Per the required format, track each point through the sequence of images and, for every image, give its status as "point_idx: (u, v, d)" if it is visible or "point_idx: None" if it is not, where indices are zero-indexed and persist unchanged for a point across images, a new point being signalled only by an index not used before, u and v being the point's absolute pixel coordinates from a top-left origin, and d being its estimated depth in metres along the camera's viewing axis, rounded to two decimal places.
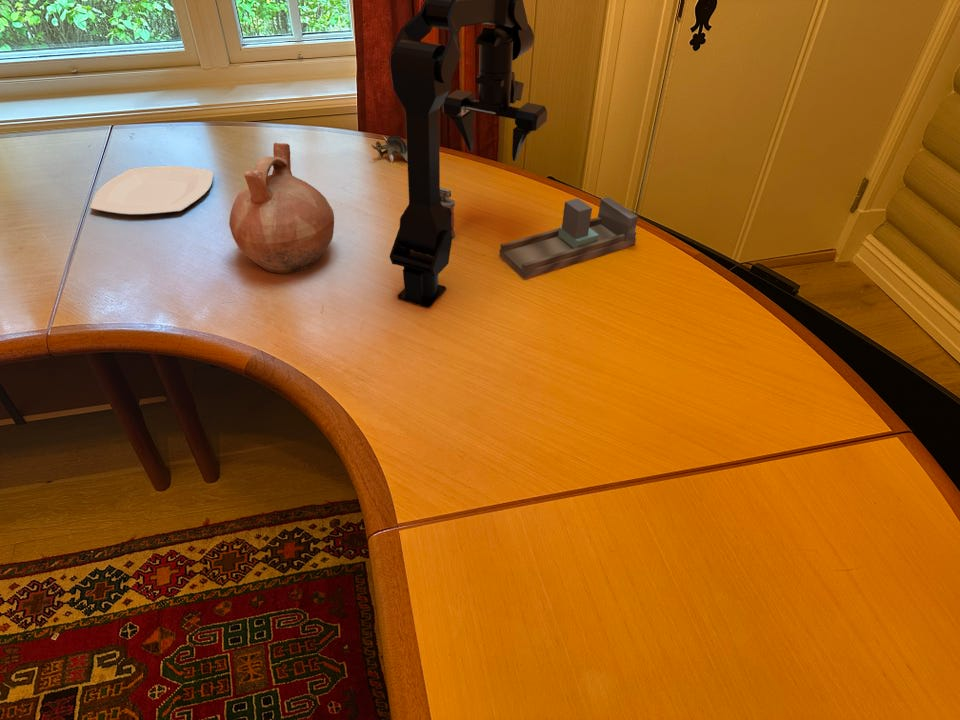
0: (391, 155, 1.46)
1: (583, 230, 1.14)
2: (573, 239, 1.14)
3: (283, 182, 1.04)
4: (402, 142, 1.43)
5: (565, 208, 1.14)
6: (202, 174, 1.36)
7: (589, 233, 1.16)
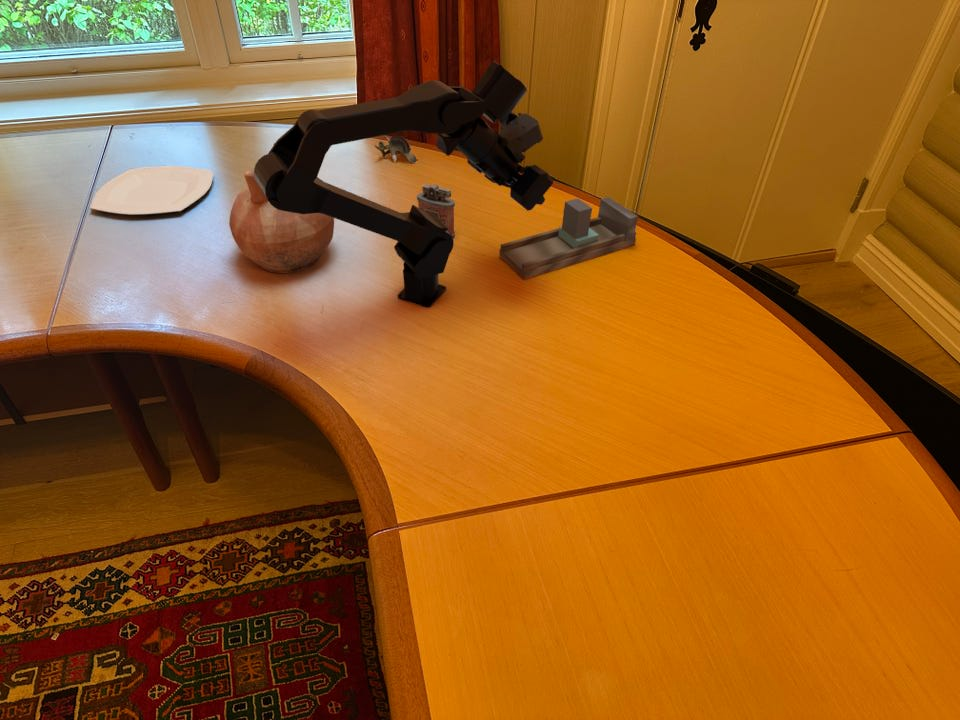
0: (394, 155, 1.46)
1: (583, 230, 1.14)
2: (573, 239, 1.14)
3: None
4: (405, 142, 1.43)
5: (565, 208, 1.14)
6: (202, 174, 1.36)
7: (589, 233, 1.16)
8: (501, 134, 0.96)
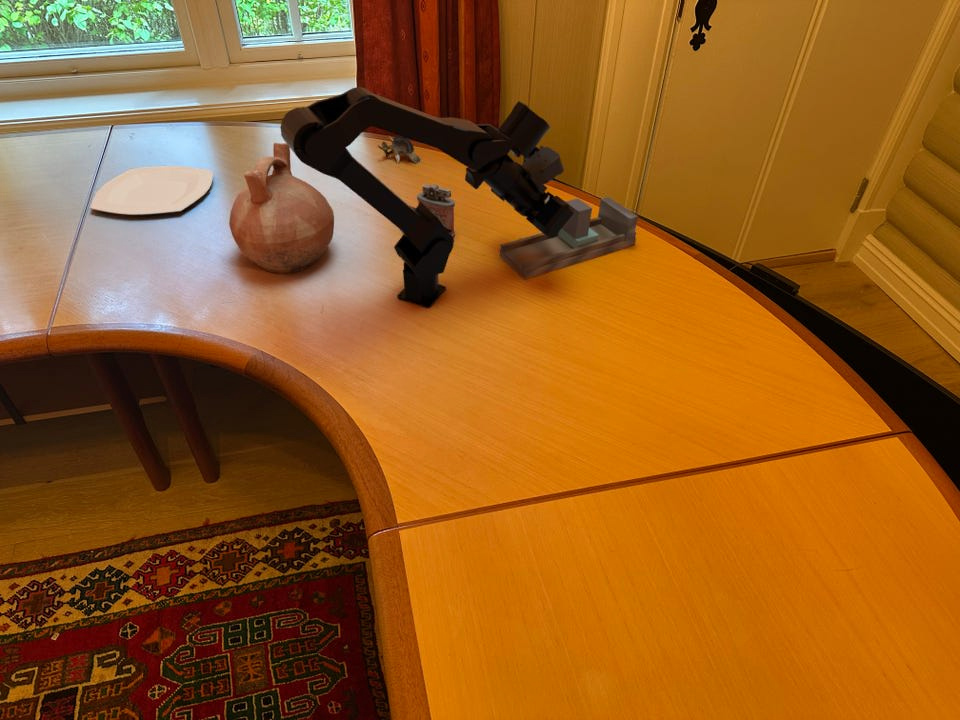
0: (397, 155, 1.46)
1: (583, 230, 1.14)
2: (573, 239, 1.14)
3: (283, 182, 1.04)
4: (409, 142, 1.43)
5: None
6: (202, 174, 1.36)
7: (589, 233, 1.16)
8: (524, 166, 1.02)
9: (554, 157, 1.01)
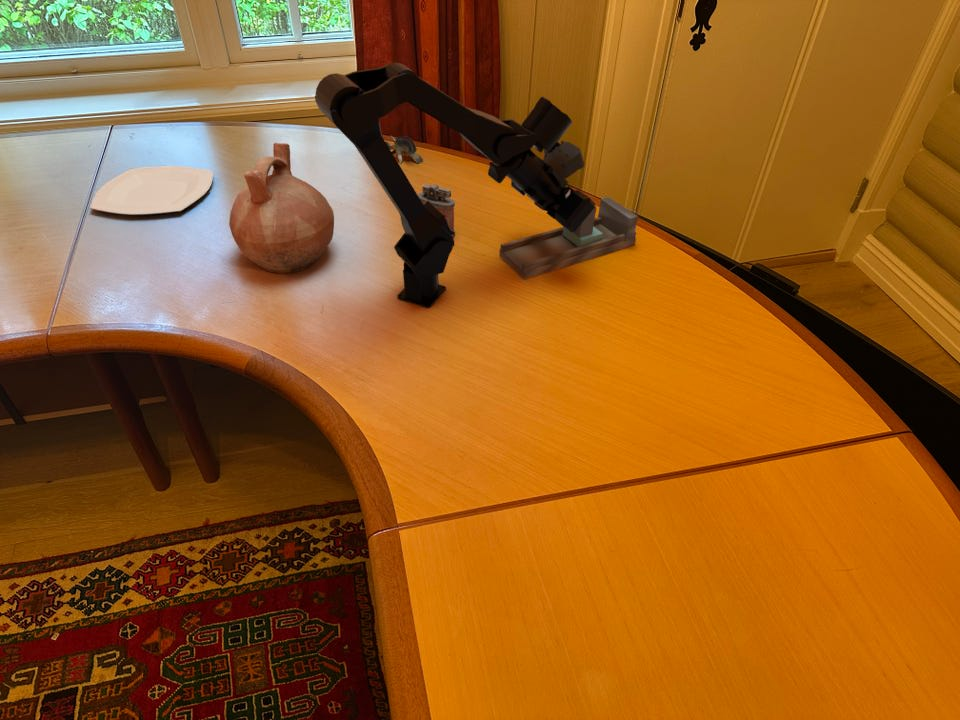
0: (400, 155, 1.46)
1: (587, 229, 1.14)
2: (578, 238, 1.15)
3: (283, 182, 1.04)
4: (411, 143, 1.43)
5: None
6: (202, 174, 1.36)
7: (593, 232, 1.16)
8: (546, 161, 1.04)
9: (575, 152, 1.02)
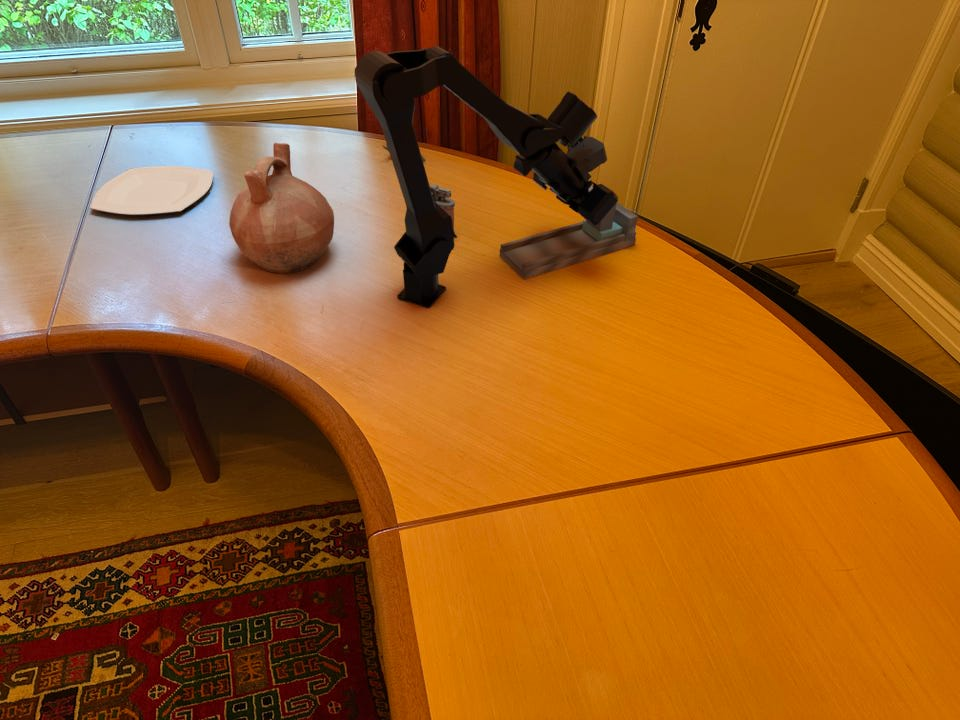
0: None
1: (607, 223, 1.16)
2: (598, 232, 1.17)
3: (283, 182, 1.04)
4: None
5: None
6: (202, 175, 1.36)
7: (613, 226, 1.18)
8: (569, 155, 1.06)
9: (599, 146, 1.04)
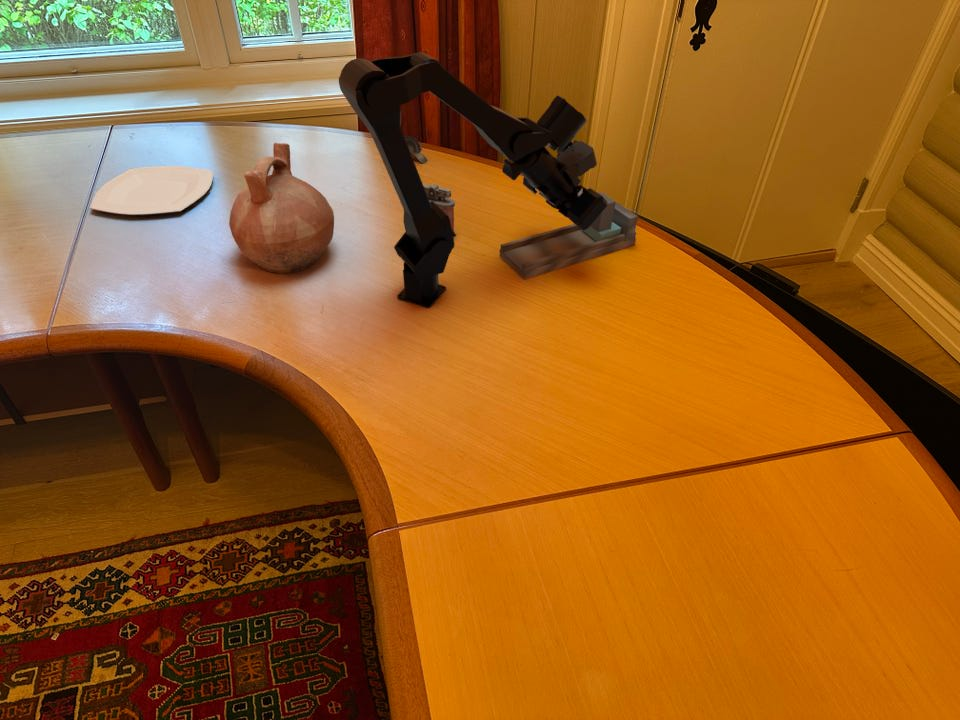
0: None
1: (606, 223, 1.16)
2: (597, 232, 1.17)
3: (283, 182, 1.04)
4: (416, 142, 1.43)
5: None
6: (202, 174, 1.36)
7: (612, 226, 1.18)
8: (559, 160, 1.05)
9: (588, 151, 1.04)
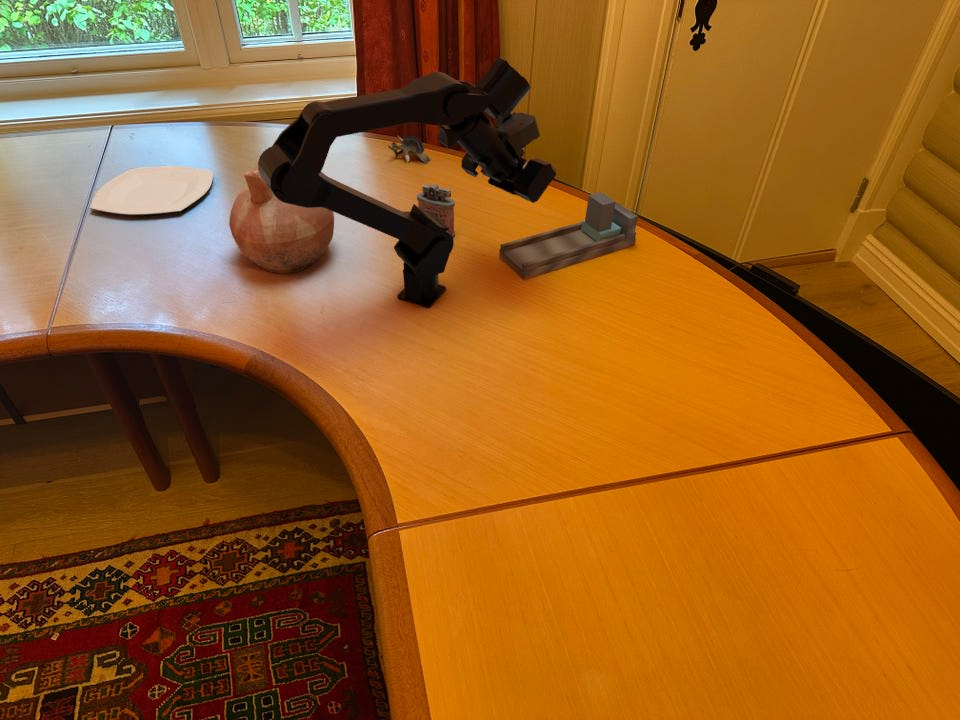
0: (407, 155, 1.46)
1: (606, 223, 1.16)
2: (597, 232, 1.17)
3: None
4: (419, 142, 1.43)
5: (588, 201, 1.16)
6: (202, 174, 1.36)
7: (612, 226, 1.18)
8: None
9: (530, 119, 0.96)
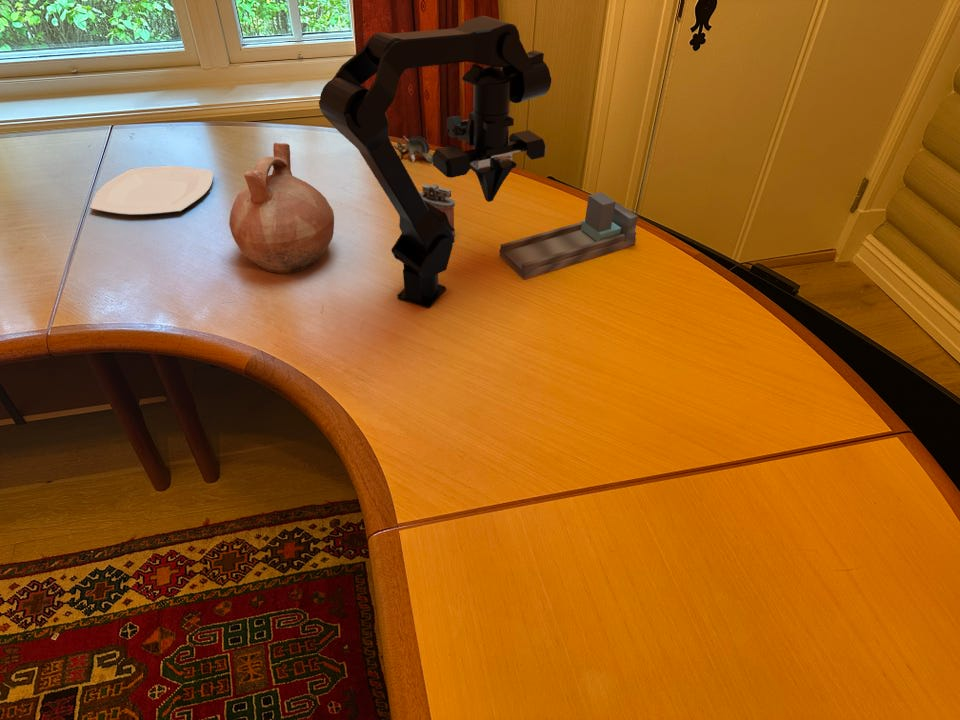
0: (413, 155, 1.46)
1: (606, 223, 1.16)
2: (597, 232, 1.17)
3: (283, 182, 1.04)
4: (424, 142, 1.43)
5: (588, 201, 1.16)
6: (202, 174, 1.36)
7: (612, 226, 1.18)
8: None
9: None
